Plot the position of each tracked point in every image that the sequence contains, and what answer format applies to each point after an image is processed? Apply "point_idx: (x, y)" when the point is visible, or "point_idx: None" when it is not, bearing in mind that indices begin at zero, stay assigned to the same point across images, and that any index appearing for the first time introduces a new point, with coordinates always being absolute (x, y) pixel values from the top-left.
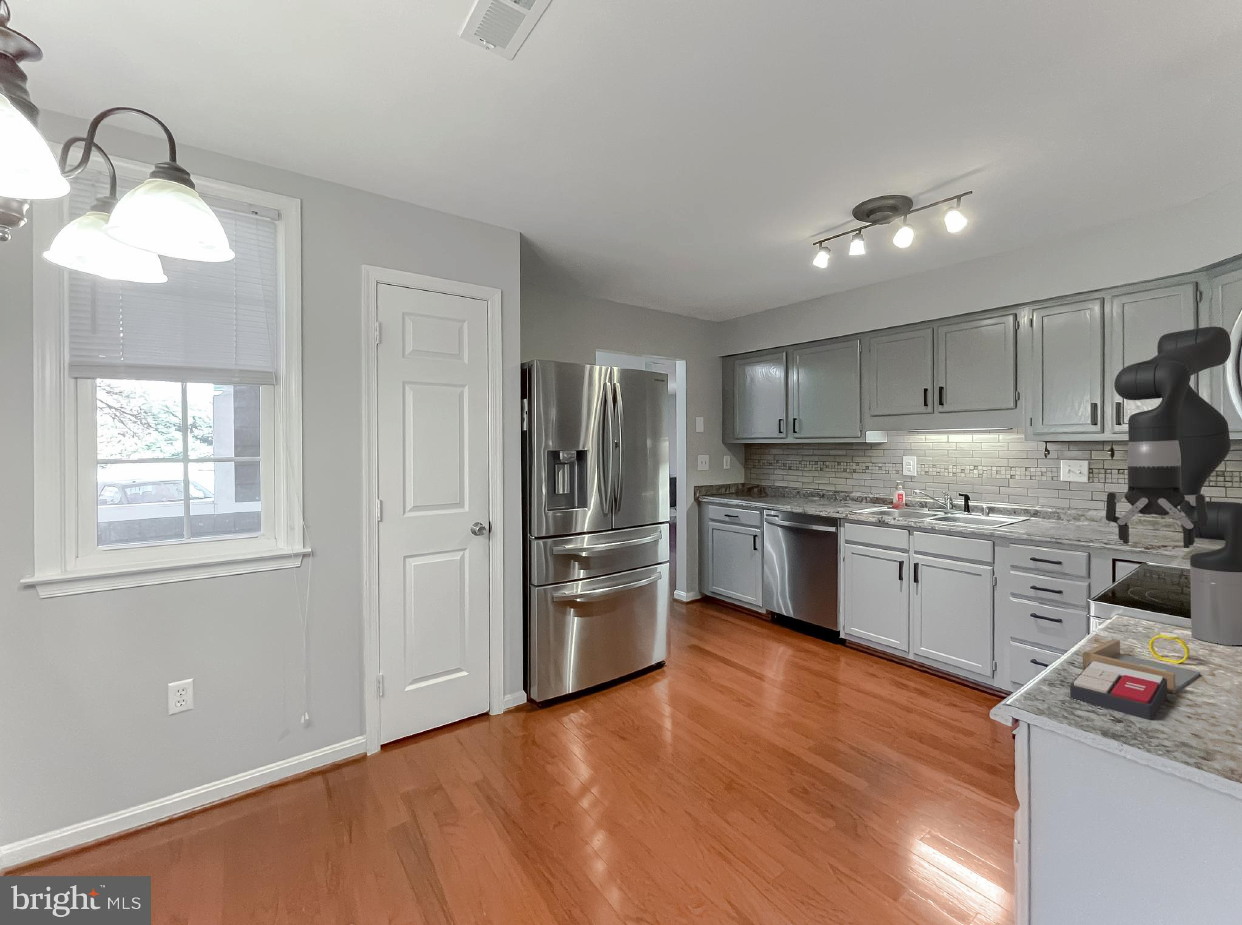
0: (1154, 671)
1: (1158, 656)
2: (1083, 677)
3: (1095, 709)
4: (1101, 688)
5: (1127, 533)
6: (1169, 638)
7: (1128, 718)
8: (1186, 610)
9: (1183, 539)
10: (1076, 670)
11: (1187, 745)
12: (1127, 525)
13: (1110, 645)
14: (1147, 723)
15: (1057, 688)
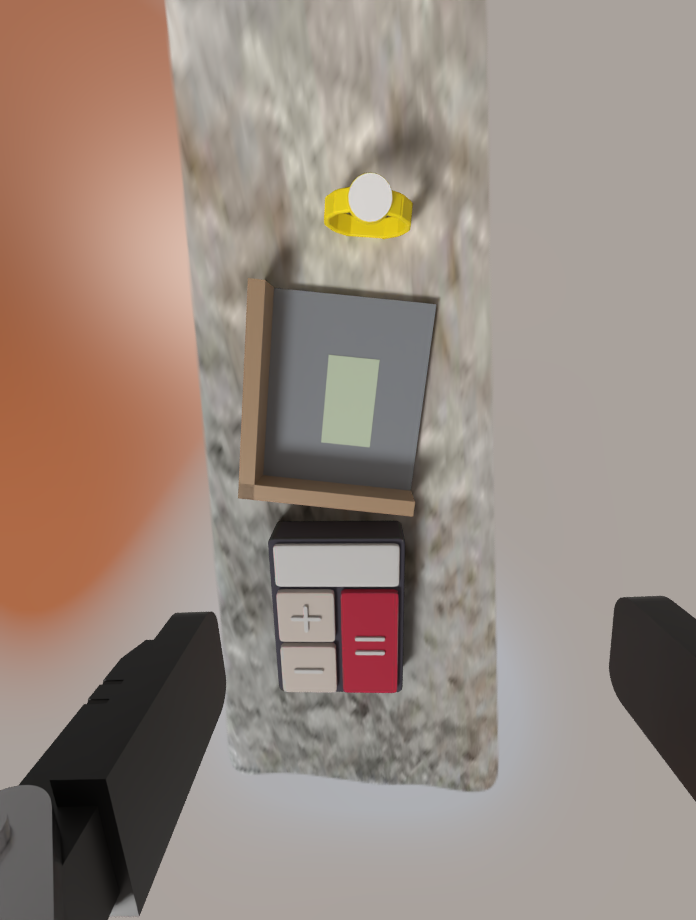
0: (379, 512)
1: (345, 227)
2: (289, 658)
3: None
4: (327, 688)
5: (186, 781)
6: (373, 223)
7: None
8: None
9: (665, 758)
10: None
11: (449, 729)
12: (126, 875)
13: (261, 358)
14: None
15: (253, 637)
